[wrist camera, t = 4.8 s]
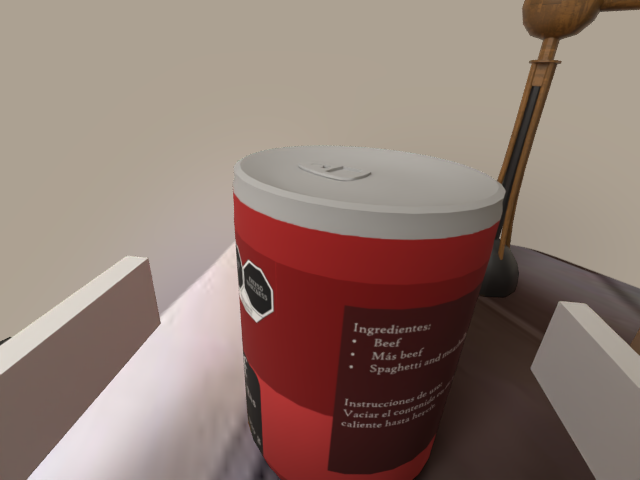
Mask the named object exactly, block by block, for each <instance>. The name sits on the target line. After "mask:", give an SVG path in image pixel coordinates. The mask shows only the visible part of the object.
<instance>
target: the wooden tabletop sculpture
mask: <svg viewBox="0 0 640 480" xmlns="http://www.w3.org/2000/svg"><path fill="white" fill-rule="evenodd" d="M639 9H640V0H525V1H524V4H523V8H522V12H523V25H524V26H525V28H526V30H527V31H528V33H529V35H530V36H533V37H536V38H539V39H542V40H543V43H542V46H541V50H540V53H539V57H538V60H531V61H529V63H532V65H531V69H530V72H529V76H528V79H527V83H526V86H525V90H524V93H523V97H522V100H521V104H520V107H519V111H518V114H517V118H516V121H515V125H514V129H513V132H512V135H511V139H510V142H509V145H508V149H507V152H506V155H505V158H504V162H503V165H502V168H501V171H500V174H499V177H498V180H497V181H498V182H499V183H501V184H502V186H503V187H504V189H505V191H506V192H505V195H504V199H503V202H502V206H503V212H502V215H501V219H500V222H499V226H498V229H497V232H496V236H495V239H494V244H493V249H492V252H491V256H490V259H489V262H488V266H487V269H486V272H485V276H484V279H483V282H482V285H481V289H480V292H479V295H482V296H490V297H506V296H507V295H509V294H511V293H512V292H514V291H515V289H516V286H517V283H518V276H519V271H518V266H517V262H516V260H515V258H514V256H513V254H512V252H511V250H510V242H511V233H512V226H513V220H514V215H515V210H516V205H517V200H518V196H519V192H520V187H521V183H522V180H523V176H524V171H525V168H526V164H527V161H528V158H529V154H530V151H531V147H532V144H533V140H534V137H535V134H536V130H537V127H538V124H539V121H540V118H541V114H542V111H543V108H544V105H545V101H546V98H547V95H548V92H549V89H550V85H551V82H552V79H553V76H554V73H555V69H556V66H557V64H560V63H561V61H558V60H554V56H555V53H556V50H557V47H558V44H559V40H561V39H564V38H567V37H571V36H573V35H577V34H578V33H580V32H581V31H582V30H583V29H584V28H586V27H587V26H588V25H590V24H591V23H592V22H593V21H594V20H595V18H596V17H597V15H598V14H599V12H604V11H622V10H639ZM502 227H503V228H502ZM501 230H502V234H501V240H500V239H499V237H500V233H501Z"/></svg>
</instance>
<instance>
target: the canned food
mask: <svg viewBox="0 0 640 480" xmlns="http://www.w3.org/2000/svg"><path fill="white" fill-rule="evenodd" d="M505 192H506V191H505V189H504V187H503V186H502V184H501V183H499V182H498V181H496V180H495V179H494V178H492V177H491V176H489V175H487V174H485V173H483V172H481V171H479V170H477V169H474V168H471V167H468V166H465V165H463V164H459V163H455V162H452V161H448V160H444V159H440V158H435V157H431V156H426V155H421V154H414V153H409V152H402V151H395V150H387V149H378V148H366V147H352V146H294V147H283V148H275V149H269V150H264V151H260V152H257V153H254V154H251V155H248V156H246V157H244V158H242V159H241V160H239V161H237V163H236V164H235V166H234V182H233V198H234V225H235V239H236V254H237V269H238V283H239V298H240V312H241V327H242V342H243V356H244V371H245V385H246V400H247V413H248V424H249V427H250V430H251V433H252V436H253V439H254V441H255V443H256V445H257V446H258V448H259V450H260V452H261V453H262V455H263V457H264V458H265V460H266V462H267V463H268V465H269V467H270V468H271V469H272V470H273V471H274V472H275V473H276V474H277V476H278V477H279V478H280V479H281V480H413V479H414V478H415V477H416V476H417V475H418V474H419V473H420V471H421V470H422V468H423V467H424V465H425V463H426V462H427V460H428V459H429V455H430V452H431V449H432V446H433V442H434V439H435V436H436V433H437V429H438V426H439V423H440V419H441V416H442V413H443V410H444V406H445V403H446V400H447V397H448V393H449V390H450V387H451V383H452V380H453V377H454V374H455V370H456V367H457V364H458V361H459V357H460V354H461V351H462V347H463V344H464V341H465V338H466V334H467V331H468V328H469V325H470V321H471V318H472V315H473V312H474V308H475V305H476V302H477V298H478V295H479V292H480V289H481V285H482V282H483V279H484V276H485V272H486V269H487V266H488V262H489V259H490V256H491V252H492V249H493V244H494V239H495V236H496V232H497V229H498V226H499V222H500V219H501V215H502V212H503V206H502V202H503V199H504V195H505Z"/></svg>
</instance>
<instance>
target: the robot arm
mask: <svg viewBox="0 0 640 480" xmlns="http://www.w3.org/2000/svg"><path fill="white" fill-rule="evenodd" d="M160 324H161V322H160V317H159V312H158V307H157V302H156V296H155V291H154V286H153V281H152V275H151V270H150V265H149V260H148V258H143V257H134V256H126V257H124V258H123V259H122V260H120V261H119V262H117V263H116V264H114V266H112V267H110V268H109V269H107V270H106V271H105V272H103V273H102V274H100V275H99V276H98V277H96V278H95V279H93V280H92V281H91V282H89V283H88V284H86V285H85V286H84V287H82V288H81V289H79V290H78V291H76V292H75V293H74V294H72V295H71V296H69V297H68V298H67V299H65V300H64V301H62V302H61V303H60V304H58V305H57V306H55V307H54V308H53V309H51V310H50V311H49V312H47V313H46V314H44V315H43V316H41V317H40V318H39V319H37V320H36V321H34V322H33V323H31V324H30V325H29V326H27V327H26V328H24V329H23V330H22V331H20V332H19V333H17V334H16V335H15V336H13V337H9V338H7V339H5V340H2V341H0V480H27V478H28V477H29V476H30V475H31V474H32V473H33V471H34V470H35V469H36V468H37V467H38V466H39V464H40V463H41V462H42V461H43V460H44V459H45V457H46V456H47V455H48V454H49V453H50V452H51V450H52V449H53V448H54V447H55V446H56V445H57V443H58V442H59V441H60V440H61V439H62V438H63V437H64V435H65V434H66V433H67V432H68V431H69V430H70V428H71V427H72V426H73V425H74V424H75V423H76V421H77V420H78V419H79V418H80V417H81V416H82V414H83V413H84V412H85V411H86V410H87V409H88V407H89V406H90V405H91V404H92V403H93V402H94V400H95V399H96V398H97V397H98V396H99V395H100V393H101V392H102V391H103V390H104V389H105V388H106V387H107V385H108V384H109V383H110V382H111V381H112V380H113V378H114V377H115V376H116V375H117V374H118V373H119V371H120V370H121V369H122V368H123V367H124V366H125V364H126V363H127V362H128V361H129V360H130V359H131V357H132V356H133V355H134V354H135V353H136V352H137V350H138V349H139V348H140V347H141V346H142V345H143V343H144V342H145V341H146V340H147V339H148V338H149V336H150V335H151V334H152V333H153V332H154V331H155V330H156V328H157V327H158V326H159V325H160ZM530 369H531V371H532V372H533V374H534V376H535V377H536V379H537V381H538V382H539V384H540V386H541V387H542V389H543V391H544V392H545V394H546V396H547V398H548V399H549V401H550V403H551V404H552V406H553V408H554V409H555V411H556V413H557V414H558V416H559V418H560V419H561V421H562V423H563V425H564V426H565V428H566V430H567V431H568V433H569V435H570V436H571V438H572V440H573V441H574V443H575V445H576V446H577V448H578V450H579V452H580V453H581V455H582V457H583V458H584V460H585V462H586V463H587V465H588V467H589V468H590V470H591V472H592V473H593V475H594V477H595V479H596V480H640V356H639V355H638V354H637V353H636V352H635V351H634V350H633V349H632V348H631V347H630V346H629V345H628V344H627V343H626V342H625V341H624V340H623V339H622V338H621V337H620V336H619V335H618V334H617V333H616V332H615V331H614V330H612V329H611V328H610V327H609V326H608V325H607V324H606V323H605V322H604V321H603V320H602V319H601V318H600V317H599V316H598V315H597V314H596V313H595V312H594V311H593V310H592V309H591V308H590V307H589V306H588V305H587V304H584V303H574V302H565V301H559V302H558V305H557V307H556V309H555V312H554V314H553V316H552V319H551V321H550V324H549V326H548V328H547V331H546V333H545V335H544V338H543V340H542V342H541V345H540V347H539V349H538V352H537V354H536V356H535V359H534V361H533V364H532V366H531V368H530Z"/></svg>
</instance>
